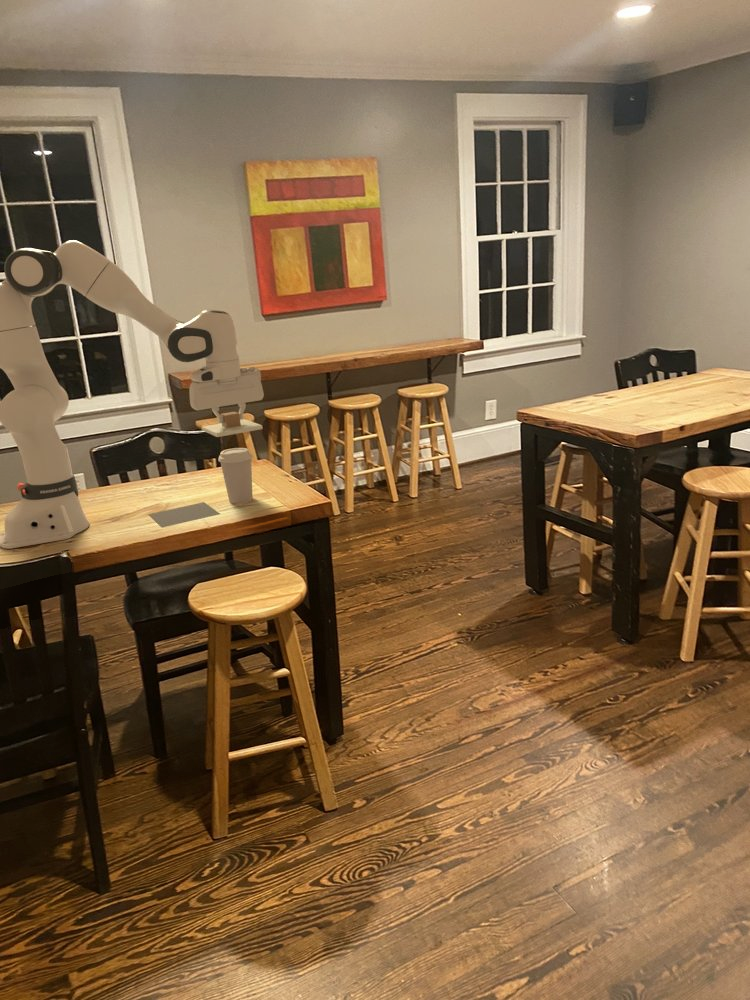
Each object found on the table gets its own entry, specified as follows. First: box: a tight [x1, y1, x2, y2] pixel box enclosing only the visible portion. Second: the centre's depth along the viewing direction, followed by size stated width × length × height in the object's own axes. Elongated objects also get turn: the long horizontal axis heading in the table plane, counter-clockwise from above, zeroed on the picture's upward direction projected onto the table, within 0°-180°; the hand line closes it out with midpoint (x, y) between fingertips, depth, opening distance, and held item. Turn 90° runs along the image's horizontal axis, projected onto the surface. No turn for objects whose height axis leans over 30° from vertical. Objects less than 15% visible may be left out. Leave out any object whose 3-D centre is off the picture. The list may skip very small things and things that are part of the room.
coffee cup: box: [218, 447, 254, 505], centre depth 205 cm, size 10×10×15 cm
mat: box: [148, 501, 221, 528], centre depth 198 cm, size 16×14×1 cm
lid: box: [201, 411, 264, 438], centre depth 200 cm, size 13×13×4 cm
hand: (230, 421), depth 200 cm, fingers closed on lid, 4 cm apart
